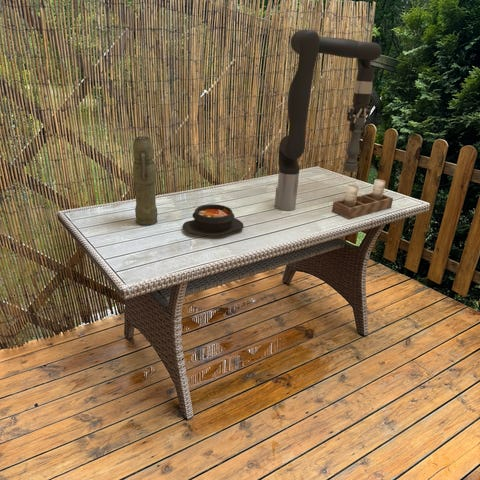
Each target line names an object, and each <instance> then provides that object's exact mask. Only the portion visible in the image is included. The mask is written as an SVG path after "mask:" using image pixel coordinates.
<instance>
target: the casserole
mask: <svg viewBox="0 0 480 480" xmlns="http://www.w3.org/2000/svg"><path fill="white" fill-rule="evenodd" d="M192 218H193V219H192V220H187V221H184V223H183V224H182V229H183V230H184V231H185V232H186V233H189V234H194V235H206V236H223V235H227V234H230V233H232V232H235V231H239V230H242V229H244V223H243V222H242V221H241V220H239V219H237V218H235V214H234V212H233V210H232V209H231V207H229V206H226V205H222V204H214V203H213V204H212V203H211V204H203V205H200V206H197V207H196V208H195V210H194V211H193V213H192Z"/></svg>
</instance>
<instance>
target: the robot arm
mask: <svg viewBox="0 0 480 480" xmlns="http://www.w3.org/2000/svg"><path fill="white" fill-rule="evenodd" d="M290 48H291V49H292V51H294V53H296V54H297V55H298V65H297V68H296V72H295V74H294V76H293V78H292V80H291V83H290V85H289V89H288V94H287V102H286V104H287V115H288V125H289V128H288V134H287V135H284V136H283V137H282V138H281V140H280V141H279V146H278V161H277V163H278V176H277V177H278V179H277V187H275V196H274V197H275V199H274V208H276V209H278V210H280V211H286V212H287V211H293V210H295V209H296V205H297V197H298V196H297V195H298V186H299V176H300V169H301V168H300V165H299V162H298V159H300V158H302V157H301V156H302V155H303V154H304V152H305V147H306V127H307V122H308V114H309V107H310V101H311V93H312V86H313V79H314V72H315V67H316V62H317V58H318V54H325V55H328V56H329V55H330V56H334V57H341V58H345V59H346V58H347V59H356V63H357V75H356V81H355V83H354V89H353V95H352V96H353V97H352V103H353V105H352V107H347V109H346V110H347V115H346V121H347V122H349V132H351V131H354V129H355V122H356V119H357V118H358V117H359V116H361V117H365V120H364V125H363V127H362V128H361V130H362V131H364V128H365V123H366V122H367V121H369V119H370V116H371V112H372V111H373V110H372V109H373V107H371V106H369V105H368V104H370V101H371V96H372V90H373V81H374V75H375V68H374V67H373V66H371V62H372V61H376V60H378V59H379V58H380V56H382V55H381V54H382V47H381V45H380V44H379V43H378V42H374V41H373V42H371V41H360V40H355V39H350V38H344V37H343V38H341V37H326V36H320V35H319V34H318V32H317V31H316V30H314V29H300V30H298V31H295V32H294V33H293V34H292V36H291V39H290ZM353 117H355V118H354V120H353Z"/></svg>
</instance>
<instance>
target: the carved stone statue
mask: <svg viewBox="0 0 480 480" xmlns="http://www.w3.org/2000/svg"><path fill="white" fill-rule="evenodd" d="M132 156H133V157H132V158H133V159H134V160H133V166H132V180H133V183H134V189H135V190H134V191H135V193H134V194H135V208H134V211H135V219H136V220H135V222H136V224H137V225H139V226H142V227H145V226H146V227H148V226H154V225H156V224H157V223H158V208H157V202H156V201H157V200H156V182H157V180H156V179H157V177H156V176H157V175H156V172H157V171H156V166H155V163H154V146H153V143H152V140H151V138H150V137H147V136H137V137H135V138H134V140H133V143H132Z"/></svg>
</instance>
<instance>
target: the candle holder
mask: <svg viewBox="0 0 480 480" xmlns="http://www.w3.org/2000/svg"><path fill="white" fill-rule="evenodd" d="M354 118H355V117H353V120H354ZM364 120H365V117H361V116H359V117H358V118H357V119H356V122H355V129H354V131H350V133H351V136H350V139H349V143H348V144H347V148H346V150H345V151H346V155H347V157H346V158H345V161H344V163H343V171H344V172H346V173H356V172H357V169H358V159H357V157H358V156H359V154H360V152H361V151H360V150H361V149H360V138H361V133H363V130H361V128H362V127H363V125H364V126H365V124H364Z"/></svg>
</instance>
